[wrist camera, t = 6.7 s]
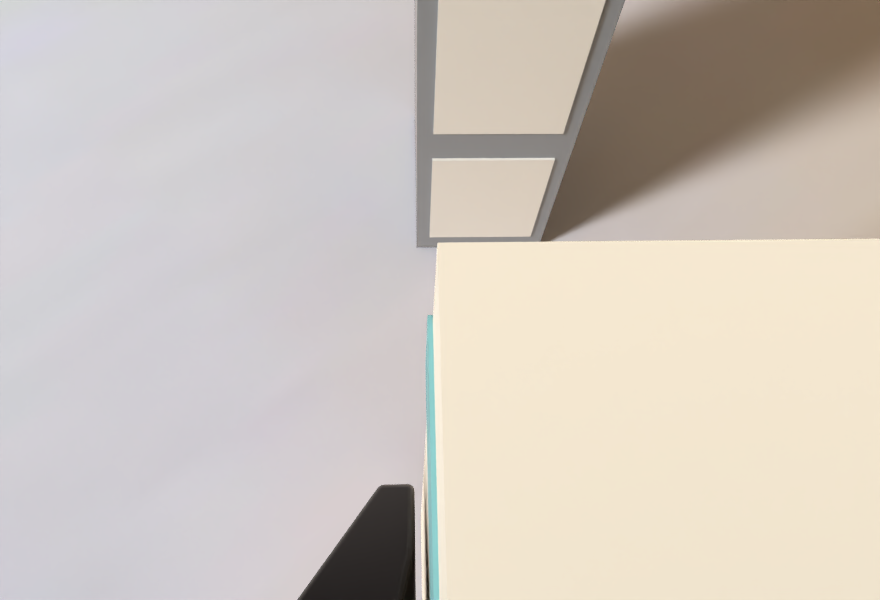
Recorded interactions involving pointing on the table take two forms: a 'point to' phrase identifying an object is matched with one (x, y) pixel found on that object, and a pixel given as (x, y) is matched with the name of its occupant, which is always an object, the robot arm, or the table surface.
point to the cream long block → (653, 421)
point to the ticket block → (500, 110)
